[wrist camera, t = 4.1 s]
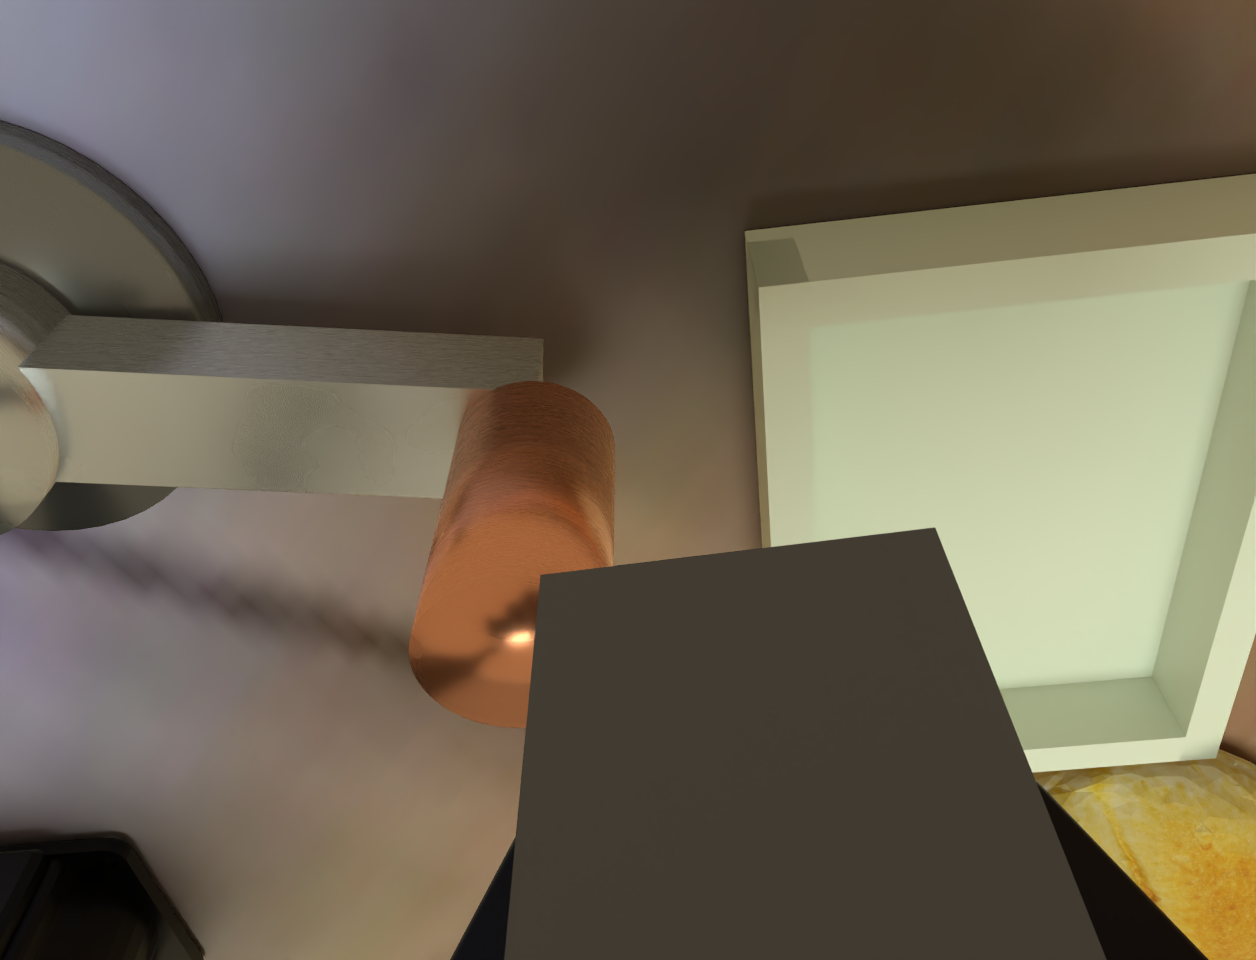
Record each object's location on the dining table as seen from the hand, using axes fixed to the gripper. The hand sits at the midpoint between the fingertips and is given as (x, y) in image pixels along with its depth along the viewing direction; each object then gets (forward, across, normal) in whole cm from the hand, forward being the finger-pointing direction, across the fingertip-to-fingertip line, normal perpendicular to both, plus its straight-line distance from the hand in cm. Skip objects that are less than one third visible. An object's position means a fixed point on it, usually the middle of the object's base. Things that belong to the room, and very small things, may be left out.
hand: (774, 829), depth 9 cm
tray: (+12, -6, +6) cm, 14 cm away
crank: (+11, +8, 0) cm, 14 cm away
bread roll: (+12, -9, +19) cm, 24 cm away
